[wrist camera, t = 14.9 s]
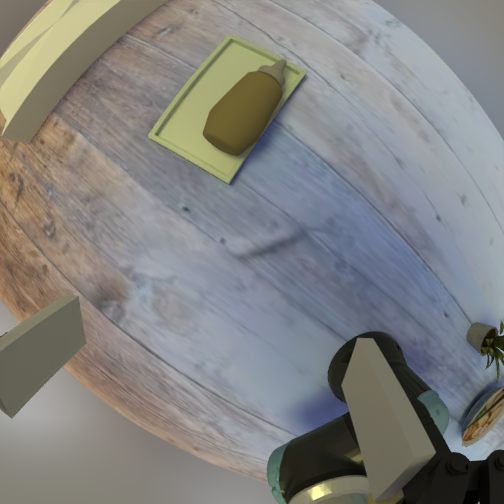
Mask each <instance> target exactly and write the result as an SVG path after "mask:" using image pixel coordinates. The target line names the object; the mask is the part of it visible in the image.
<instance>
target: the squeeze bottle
mask: <svg viewBox="0 0 504 504" xmlns="http://www.w3.org/2000/svg"><path fill="white" fill-rule="evenodd" d="M286 64H287V62H286V60H284V59H281V60H279V61H278V62H276V63H275V64H273V65H272V66H268V65H263V66H261V67H260V68H259V69H258V70H257V71H256V72H255V71H253V72H248V73H247V74H246V75H245V76H244V77H243V78H242V79H241V80H239V81H238V82H237V83H236V84H235V85H234V86H233V87H232V88H231V89H230V90H229V91H228V92H227V93H226V94H225V95H224V96H223V97H222V98H221V99H220V100H219V101H218V102H217V103H216V104H215V105H214V107H213V108H212V109H211V110H210V111H209V114H208V118H207V121H206V124H205V127H204V130H203V136H204V137H205V139H206V140H207V141H208V142H209V143H211V144H212V145H213V146H214V147H216V148H217V149H219V150H221V151H222V152H225V153H227V154H230V155H233V156H238V155H240V154H241V153H242V152H244V151H245V150H246V149H248V148H249V147H250V146H252V145H253V144H254V143H256V142H257V141H258V140H259V138H260V136H261V134H262V132H263V131H264V129H265V127H266V125H267V123H268V121H269V120H270V118H271V116H272V114H273V112H274V111H275V109H276V107H277V105H278V103H279V102H280V100H281V98H282V95H283V93H282V90H281V88H282V87H283V85H284V84H285V77H284V76H283V74H282V73H283V71H284V69H285V66H286Z"/></svg>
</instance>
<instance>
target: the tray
mask: <svg viewBox="0 0 504 504" xmlns="http://www.w3.org/2000/svg"><path fill="white" fill-rule="evenodd" d="M281 59H283V58H281V57H279V56H277V55H275V54H273V53H271V52H269V51H267V50H265V49H263V48H261V47H259V46H256V45H254V44H252V43H250V42H248V41H245V40H243V39H241V38H238V37H236V36H234V35H231V34H229V35H228V36H227V37H226V38H225V39H224V40H223V41H222V43H221V44H220V45H219V46H218V47H217V48H216V49H215V50H214V51H213V52H212V53H211V54H210V56H209V57H208V58H207V59H206V60H205V61H204V62H203V64H202V65H201V66H200V67H199V68H198V69H197V71H196V72H195V73H194V74H193V75H192V77H191V78H190V79H189V80H188V81H187V83H186V84H185V85H184V87H183V88H182V89H181V90H180V92H179V93H178V94H177V96H176V97H175V98H174V100H173V101H172V102H171V104H170V105H169V106H168V108H167V109H166V110H165V112H164V113H163V115H162V116H161V117H160V119H159V120H158V122H157V123H156V125H155V126H154V128H153V129H152V131H151V132H150V134H149V135H148V138H150V139H151V140H153V141H155V142H156V143H158V144H160V145H162V146H163V147H165V148H167V149H169V150H170V151H172V152H174V153H176V154H177V155H179V156H181V157H183V158H184V159H186V160H188V161H189V162H191V163H193V164H195V165H196V166H198V167H200V168H201V169H203V170H205V171H206V172H208V173H210V174H211V175H213V176H215V177H216V178H218V179H220V180H221V181H223V182H225V183H226V184H228V185H229V184H230V183H231V181H232V179H233V178H234V176H235V175H236V173H237V172H238V170H239V169H240V167H241V166H242V164H243V163H244V161H245V160H246V158H247V157H248V155H249V154H250V152H251V151H252V149H253V148H254V146H255V145H256V143H257V142H258V141H259V140H258V141H257V142H256V143H254V144H253V145H252V146H250V147H249V148H248V149H246V150H245V151H244V152H242V153H241V154H240V155H238V156H233V155H230V154H227V153H225V152H222V151H221V150H219V149H217V148H216V147H214V146H213V145H212V144H211V143H209V142H208V141H207V140H206V139H205V137H204V136H203V130H204V127H205V124H206V121H207V118H208V114H209V111H210V110H211V109H212V108H213V107H214V105H215V104H216V103H217V102H218V101H219V100H220V99H221V98H222V97H223V96H224V95H225V94H226V93H227V92H228V91H229V90H230V89H231V88H232V87H233V86H234V85H235V84H236V83H237V82H238V81H239V80H241V79H242V78H243V77H244V76H245V75H246V74H247V73H248V72H253V71H255V72H256V71H257V70H258V69H259V68H260V67H261V66H263V65H268V66H272V65H273V64H275V63H276V62H278V61H279V60H281ZM286 62H287V64H286V66H285V69H284V71H283V73H282V74H283V76H284V77H285V84H284V85H283V87H282V88H281V90H282V93H283V95H282V98H281V100H280V102H279V103H278V105H277V107H276V109H275V111H274V112H273V114H272V116H271V118H270V120H269V121H268V123H267V125H266V127H265V129H264V131H263V132H262V134H261V136H262V135H263V133H264V132H265V130H266V129H267V128H268V126H269V125H270V123H271V122H272V121H273V119H274V118H275V116H276V115H277V114H278V112H279V111H280V109H281V108H282V107H283V105H284V104H285V102H286V101H287V100H288V98H289V97H290V96H291V94H292V93H293V92H294V90H295V89H296V88H297V86H298V85H299V84H300V82H301V81H302V80H303V78H304V77H305V75H306V73H307V72H306V71H304V70H302V69H301V68H299V67H297V66H295V65H294V64H292V63H290V62H288V61H286ZM261 136H260V138H261ZM260 138H259V139H260Z"/></svg>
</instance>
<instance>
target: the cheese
mask: <svg viewBox="0 0 504 504" xmlns="http://www.w3.org/2000/svg"><path fill="white" fill-rule="evenodd" d="M403 496H404V494H403V491H402V490H400V491H399V492H398V493H397V494H396V495H395V496H394V497H392V498H387V499H383V500H378V501H373V498H372V494H370V495H369V497H368V498H367V499H368V502H369V504H395V503H396V502H398V501H399V500H400V499H401V498H402V497H403Z"/></svg>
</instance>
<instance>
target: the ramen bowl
mask: <svg viewBox="0 0 504 504" xmlns="http://www.w3.org/2000/svg"><path fill="white" fill-rule="evenodd" d="M503 413H504V386H502V387H498V388H494V389H492V390H490V391H489V392H487V393H486V394H484V395H483V396H482V397H481V398H480V399H479V400H478V401H477V402H476V403H475V404H474V405H473V407H472V408H471V410H470V412H469V413H468V415H467V416H466V419H465V421H464V424H463V426H462V445H463V446H466V447H467V446H470V445H472V444H474V443H476V442H477V441H478V440H480V439H481V438H483V437H484V436H485V435H486V434H487V433H488V432H489V431H490V430H491V429H492V428H493V426H494V425H495V424H496V423H497V421H498V420H499V419H500V418H501V416H502V414H503Z"/></svg>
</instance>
